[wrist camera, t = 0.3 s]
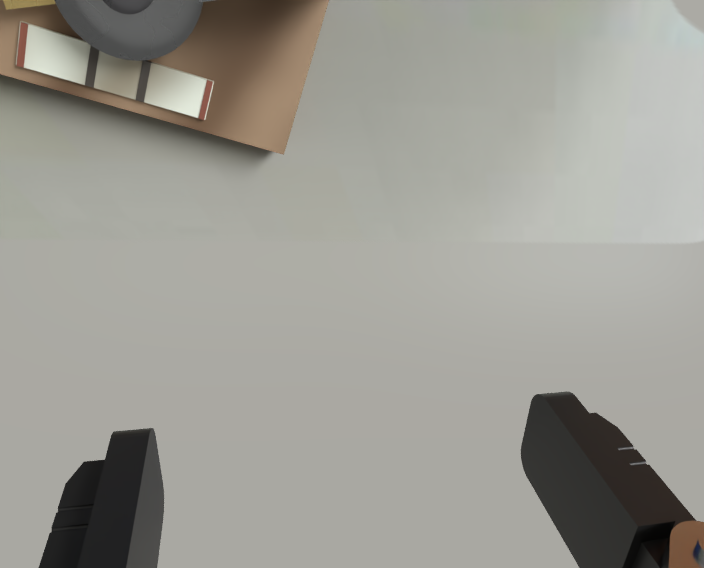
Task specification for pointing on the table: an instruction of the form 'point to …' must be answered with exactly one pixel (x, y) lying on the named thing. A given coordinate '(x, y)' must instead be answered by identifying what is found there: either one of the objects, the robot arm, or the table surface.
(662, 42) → the table surface
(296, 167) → the table surface
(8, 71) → the stand
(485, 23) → the table surface
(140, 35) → the lever
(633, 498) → the robot arm
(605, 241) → the table surface
